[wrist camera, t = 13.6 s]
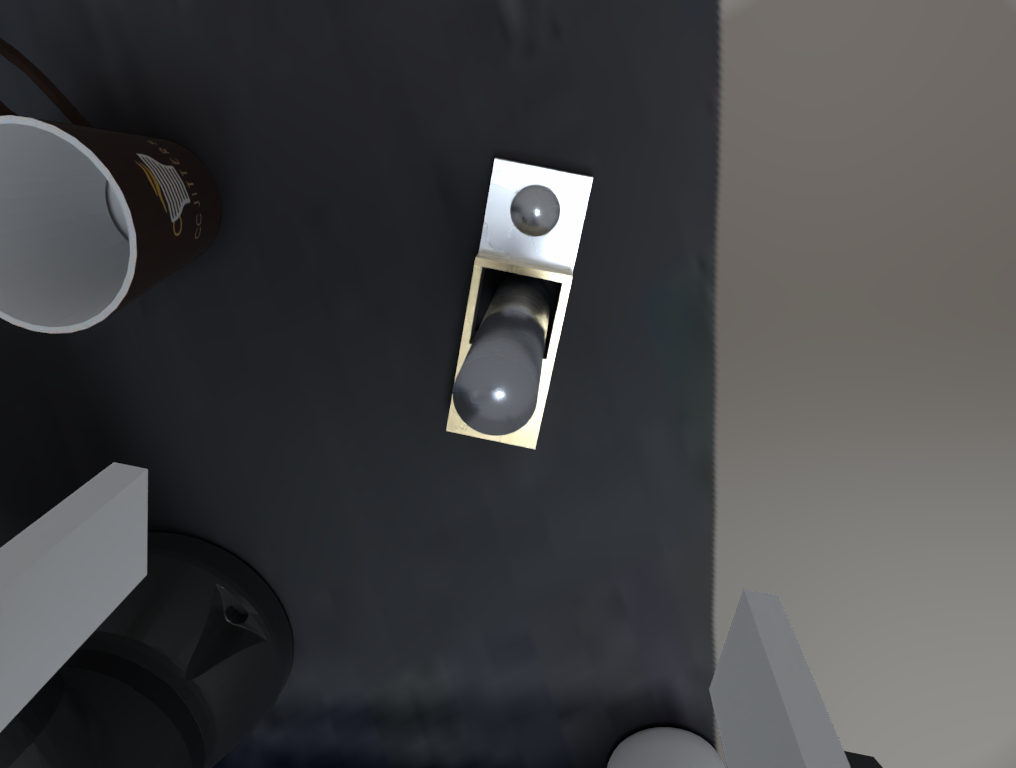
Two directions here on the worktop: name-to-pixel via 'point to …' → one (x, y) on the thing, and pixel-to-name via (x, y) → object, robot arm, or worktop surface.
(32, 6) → the worktop surface
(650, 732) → the milk bottle
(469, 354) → the steel pin
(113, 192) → the coffee mug
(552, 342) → the barrel bolt latch
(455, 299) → the worktop surface
